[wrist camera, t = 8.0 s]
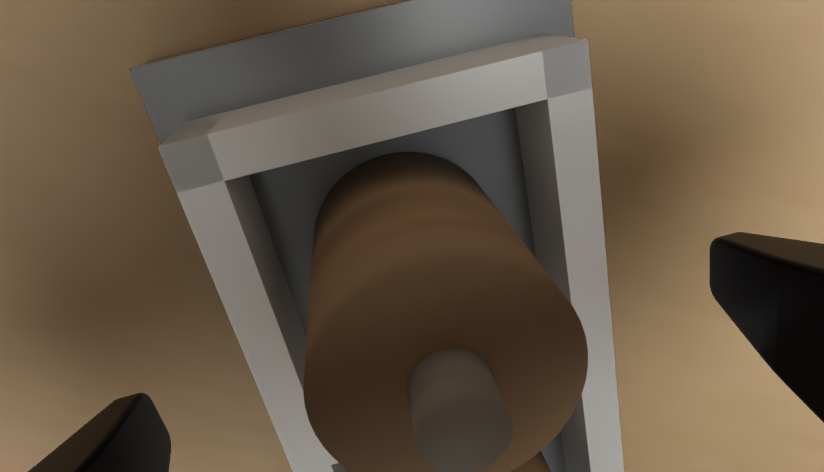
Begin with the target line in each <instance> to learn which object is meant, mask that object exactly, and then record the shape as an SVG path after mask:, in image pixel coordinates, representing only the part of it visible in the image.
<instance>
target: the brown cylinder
mask: <svg viewBox="0 0 824 472" xmlns="http://www.w3.org/2000/svg"><path fill="white" fill-rule="evenodd" d="M587 369H588V348H587V341H586V335H585V332H584V329H583V326H582V324H581V321H580V319H579V317H578V315H577V313H576V311H575V309H574V308H573V306H572V305H571V304H570V302H569V301H568V300H567V298H566V297H565V296H564V294H563V293H562V292H561V291H560V289H559V288H558V287H557V285H556V284H555V283H554V281H553V280H552V279H551V278H550V276H549V275H548V274H547V272H546V271H545V270H544V269H543V267H542V266H541V265H540V263H539V262H538V261H537V259H536V258H535V257H534V256H533V254H532V253H531V252H530V250H529V249H528V248H527V246H526V245H525V244H524V243H523V241H522V240H521V239H520V237H519V236H518V235H517V234H516V232H515V231H514V230H513V228H512V227H511V226H510V224H509V223H508V222H507V221H506V219H505V218H504V217H503V215H502V214H501V213H500V212H499V210H498V209H497V208H496V206H495V205H494V204H493V202H492V201H491V200H490V199H489V197H488V196H487V195H486V193H485V192H484V191H483V190H482V188H481V187H480V186H479V184H478V183H477V182H476V180H475V179H474V178H473V177H471V176H470V175H469V174H468V173H467V172H466V171H465V170H463V169H462V168H461V167H459V166H458V165H456V164H454V163H452V162H451V161H449V160H447V159H444V158H441V157H439V156H436V155H431V154H427V153H421V152H397V153H391V154H385V155H382V156H379V157H375V158H373V159H371V160H368V161H366V162H364V163H362V164H360V165H359V166H357V167H355V168H354V169H352V170H351V171H349V172H348V173H347V174H346V175H344V176H343V177H342V178H341V179H340V180H339V181H338V182H337V183H336V184H335V185H334V186H333V188H332V189H331V191H330V192H329V193H328V195H327V196H326V198H325V200H324V202H323V203H322V205H321V207H320V210H319V213H318V216H317V219H316V223H315V228H314V241H313V255H312V269H311V284H310V298H309V312H308V327H307V341H306V355H305V369H304V385H303V394H304V404H305V409H306V412H307V416H308V420H309V422H310V424H311V427H312V429H313V431H314V433H315V435H316V436H317V438H318V439H319V441H320V442H321V444H322V446H323V447H324V448H325V449H326V450H327V451H328V452H329V454H330V455H331V456H332V457H333V458H334V459H335V460H337V461H338V462H339V463H340V464H341V465H343V466H344V467H345V468H347V469H348V470H350V471H351V472H510V471H512V470H514V469H516V468H518V467H519V466H521V465H522V464H524V463H525V462H527V461H528V460H530V459H531V458H533V457H534V456H535V455H536V454H538V453H539V452H540V451H541V450H543V449H544V448H545V447H546V446H547V445H548V444H549V443H550V442H551V441H552V440H553V439H554V438H555V437H556V436H557V435H558V433H559V432H560V431H561V430H562V428H563V427H564V426H565V424H566V423H567V422H568V420H569V418H570V417H571V415H572V413H573V412H574V410H575V408H576V406H577V404H578V402H579V399H580V397H581V395H582V391H583V388H584V385H585V381H586V376H587Z"/></svg>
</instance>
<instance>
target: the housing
mask: <svg viewBox="0 0 824 472" xmlns="http://www.w3.org/2000/svg"><path fill="white" fill-rule="evenodd" d="M130 72H131V74H132V77H133V79H134V81H135V84H136V86H137V89H138V91H139V94H140V96H141V98H142V101H143V103H144V106H145V108H146V110H147V113H148V115H149V118H150V120H151V123H152V125H153V127H154V130H155V132H156V135H157V137H158V139H159V142H160V145H159V146H158V150H159V152H160V154H161V157H162V159H163V162H164V164H165V166H166V169H167V171H168V174H169V176H170V178H171V181H172V183H173V186H174V188H175V190H176V193H177V195H178V198H179V200H180V202H181V205H182V207H183V210H184V212H185V214H186V217H187V219H188V222H189V224H190V226H191V229H192V231H193V234H194V236H195V238H196V241H197V243H198V246H199V248H200V250H201V253H202V255H203V258H204V260H205V262H206V265H207V267H208V270H209V272H210V274H211V277H212V279H213V282H214V284H215V286H216V289H217V291H218V294H219V296H220V298H221V301H222V303H223V306H224V308H225V310H226V313H227V315H228V318H229V320H230V322H231V325H232V327H233V330H234V332H235V334H236V337H237V339H238V342H239V344H240V346H241V349H242V351H243V354H244V356H245V358H246V361H247V363H248V366H249V368H250V370H251V373H252V375H253V378H254V380H255V382H256V385H257V387H258V389H259V392H260V394H261V397H262V399H263V401H264V404H265V406H266V409H267V411H268V413H269V416H270V418H271V421H272V423H273V425H274V428H275V430H276V433H277V435H278V437H279V440H280V442H281V445H282V447H283V449H284V452H285V454H286V457H287V459H288V461H289V464H290V466H291V469H292V471H293V472H351V471H350V470H348V469H347V468H345V467H344V466H343V465H341V464H340V463H339V462H338V461H337V460H335V459H334V458H333V457H332V456H331V455H330V454H329V452H328V451H327V450H326V449H325V448H324V447H323V446H322V444H321V442H320V441H319V439H318V438H317V436H316V435H315V433H314V431H313V429H312V427H311V424H310V422H309V420H308V416H307V412H306V409H305V404H304V394H303V385H304V369H305V355H306V341H307V327H308V312H309V298H310V284H311V269H312V255H313V241H314V228H315V223H316V219H317V216H318V213H319V210H320V207H321V205H322V203H323V202H324V200H325V198H326V196H327V195H328V193H329V192H330V191H331V189H332V188H333V186H334V185H335V184H336V183H337V182H338V181H339V180H340V179H341V178H342V177H343V176H344V175H346V174H347V173H348V172H349V171H351V170H352V169H354V168H355V167H357V166H359V165H360V164H362V163H364V162H366V161H368V160H371V159H373V158H375V157H379V156H382V155H385V154H391V153H397V152H421V153H427V154H431V155H436V156H439V157H441V158H444V159H447V160H449V161H451V162H452V163H454V164H456V165H458V166H459V167H461V168H462V169H463V170H465V171H466V172H467V173H468V174H469V175H470V176H471V177H473V178H474V179H475V180H476V182H477V183H478V184H479V186H480V187H481V188H482V190H483V191H484V192H485V193H486V195H487V196H488V197H489V199H490V200H491V201H492V202H493V204H494V205H495V206H496V208H497V209H498V210H499V212H500V213H501V214H502V215H503V217H504V218H505V219H506V221H507V222H508V223H509V224H510V226H511V227H512V228H513V230H514V231H515V232H516V234H517V235H518V236H519V237H520V239H521V240H522V241H523V243H524V244H525V245H526V246H527V248H528V249H529V250H530V252H531V253H532V254H533V256H534V257H535V258H536V259H537V261H538V262H539V263H540V265H541V266H542V267H543V269H544V270H545V271H546V272H547V274H548V275H549V276H550V278H551V279H552V280H553V281H554V283H555V284H556V285H557V287H558V288H559V289H560V291H561V292H562V293H563V294H564V296H565V297H566V298H567V300H568V301H569V302H570V304H571V305H572V306H573V308H574V309H575V311H576V313H577V315H578V317H579V319H580V321H581V324H582V326H583V329H584V332H585V335H586V341H587V348H588V369H587V376H586V381H585V385H584V388H583V391H582V395H581V397H580V399H579V402H578V404H577V406H576V408H575V410H574V412H573V413H572V415H571V417H570V418H569V420H568V422H567V423H566V424H565V426H564V427H563V428H562V430H561V431H560V432H559V433H558V435H557V436H556V437H555V438H554V439H553V440H552V441H551V442H550V443H549V444H548V445H547V446H546V447H545V448H544V449H543V450H541V452H542V454H543V456H544V458H545V460H546V462H547V464H548V467H549V469H550V471H551V472H624V465H623V453H622V441H621V429H620V417H619V405H618V393H617V381H616V369H615V357H614V345H613V333H612V321H611V308H610V296H609V284H608V272H607V260H606V248H605V236H604V224H603V212H602V200H601V188H600V176H599V164H598V151H597V139H596V127H595V115H594V103H593V91H592V79H591V67H590V55H589V43H588V39H581V38H575V37H574V26H573V15H572V4H571V0H405V1H400V2H396V3H392V4H388V5H384V6H380V7H376V8H371V9H367V10H363V11H359V12H355V13H351V14H347V15H342V16H338V17H334V18H330V19H326V20H322V21H318V22H313V23H309V24H305V25H301V26H297V27H293V28H289V29H284V30H280V31H276V32H272V33H268V34H264V35H260V36H256V37H251V38H247V39H243V40H239V41H235V42H231V43H227V44H222V45H218V46H214V47H210V48H206V49H202V50H198V51H193V52H189V53H185V54H181V55H177V56H173V57H169V58H164V59H160V60H156V61H152V62H148V63H144V64H141V65H138V66H136V67H133V68H130Z"/></svg>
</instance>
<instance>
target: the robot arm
mask: <svg viewBox="0 0 824 472" xmlns="http://www.w3.org/2000/svg"><path fill="white" fill-rule="evenodd" d="M710 288H711V292H712V294H713V296H714V298H715V299H716V301H717V302H718V303H719V305H720V306H721V307H722V308H723V309H724V311H725V312H726V313H727V314H728V316H729V317H730V318H731V319H732V321H733V322H734V323H735V324H736V326H737V327H738V328H739V329H740V331H741V332H742V333H743V334H744V336H745V337H746V338H747V339H748V341H749V342H750V343H751V344H752V346H753V347H754V348H755V349H756V351H757V352H758V353H759V354H760V356H761V357H762V358H763V359H764V361H765V362H766V363H767V364H768V365H769V366H770V368H771V369H772V370H773V371H774V372H775V373H776V374H777V375H778V376H779V377H780V379H781V380H782V381H783V382H784V383H785V384H786V385H787V386H788V387H789V388H790V389H791V390H792V391H793V392H794V393H795V394H796V395H797V396H798V397H799V398H800V399H801V400H802V401H803V402H804V403H805V404H806V405H807V406H808V407H809V408H810V409H811V410H812V411H813V412H814V413H815V414H816V415H817V416H818V417H819V418H820V419H821V420H822V421H823V422H824V244H821V243H814V242H807V241H800V240H793V239H786V238H779V237H772V236H765V235H758V234H751V233H744V232H737V233H732V234H729V235H725V236H721V237H718V238H715V239H714V240H713V241H712V243H711V245H710ZM170 453H171V441H170V436H169V433H168V431H167V429H166V427H165V425H164V423H163V421H162V419H161V417H160V415H159V413H158V411H157V409H156V408H155V406H154V404H153V402H152V400H151V399H150V397H149V396H148V395H147V394H144V393H137V394H133V395H129V396H126V397H122V398H119V399H116V400H115V401H113V402H112V403H111V404H110V405H108V406H107V407H106V408H105V409H103V410H102V411H101V412H100V413H99V414H97V415H96V416H95V417H94V418H93V419H91V420H90V421H89V422H88V423H87V424H85V425H84V426H83V427H82V428H80V429H79V430H78V431H77V432H76V433H74V434H73V435H72V436H71V437H70V438H68V439H67V440H66V441H65V442H63V443H62V444H61V445H60V446H59V447H57V448H56V449H55V450H54V451H53V452H51V453H50V454H49V455H48V456H47V457H45V458H44V459H43V460H42V461H40V462H39V463H38V464H37V465H36V466H34V467H33V468H32V469H31V470H30V471H28V472H169V463H170Z"/></svg>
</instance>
